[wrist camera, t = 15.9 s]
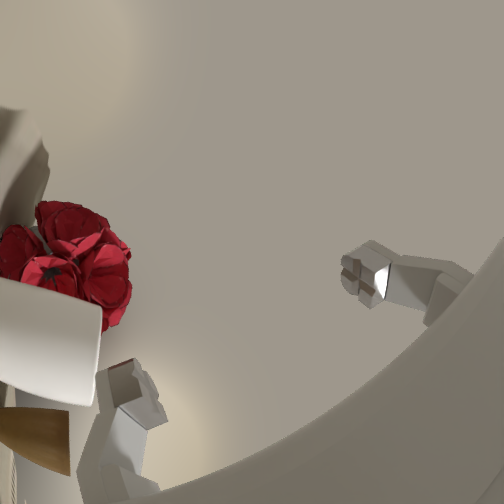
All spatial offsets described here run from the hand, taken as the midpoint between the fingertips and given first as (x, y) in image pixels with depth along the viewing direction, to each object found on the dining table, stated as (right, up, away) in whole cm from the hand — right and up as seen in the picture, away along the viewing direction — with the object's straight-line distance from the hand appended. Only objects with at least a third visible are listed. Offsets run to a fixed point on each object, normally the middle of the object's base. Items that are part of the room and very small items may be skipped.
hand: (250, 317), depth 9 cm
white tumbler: (-22, 0, -3) cm, 22 cm away
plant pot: (-49, -31, +19) cm, 61 cm away
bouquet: (-39, +2, +23) cm, 46 cm away
